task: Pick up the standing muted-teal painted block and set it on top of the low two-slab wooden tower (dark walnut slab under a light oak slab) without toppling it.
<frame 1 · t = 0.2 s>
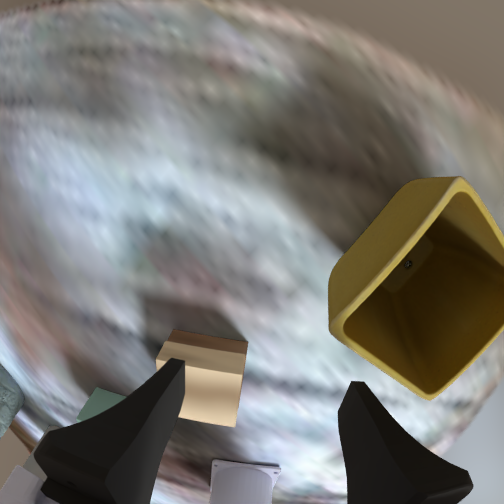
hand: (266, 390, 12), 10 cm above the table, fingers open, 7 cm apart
flower pot: (390, 248, 20), on the table
grey-green embossed container: (5, 381, 30), on the table
cup: (70, 442, 33), on the table
walnut slab: (209, 360, 25), on the table, touching oak slab
teal block: (115, 404, 28), on the table
oak slab: (203, 377, 22), point 2 cm above the table, touching walnut slab
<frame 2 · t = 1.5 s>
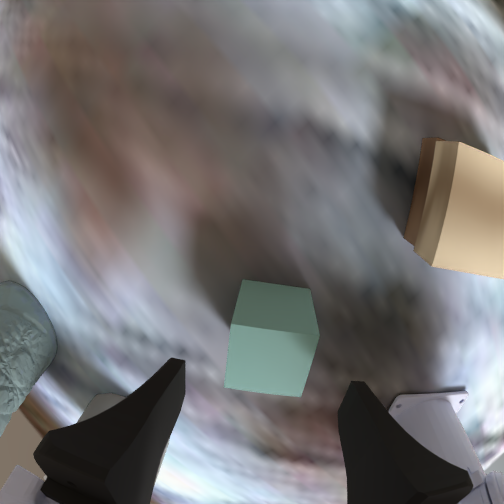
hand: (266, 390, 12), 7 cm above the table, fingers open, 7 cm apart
grey-green embossed container: (25, 321, 21), on the table
cup: (129, 422, 24), on the table
walnut slab: (450, 197, 16), on the table, touching oak slab
teal block: (271, 313, 19), on the table
oak slab: (468, 208, 14), point 2 cm above the table, touching walnut slab
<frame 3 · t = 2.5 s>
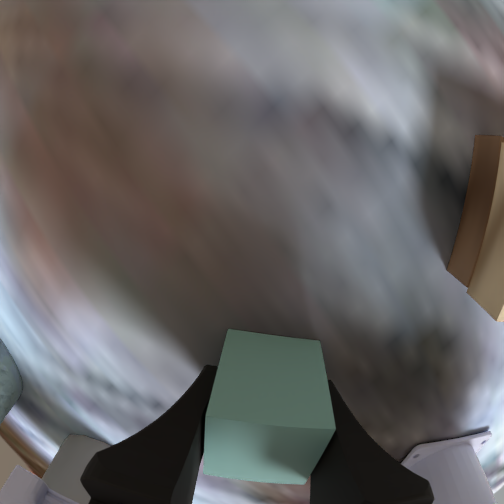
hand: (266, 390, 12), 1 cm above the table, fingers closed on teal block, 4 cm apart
cup: (108, 463, 19), on the table
walnut slab: (501, 215, 11), on the table, touching oak slab
teal block: (267, 369, 13), on the table, touching gripper
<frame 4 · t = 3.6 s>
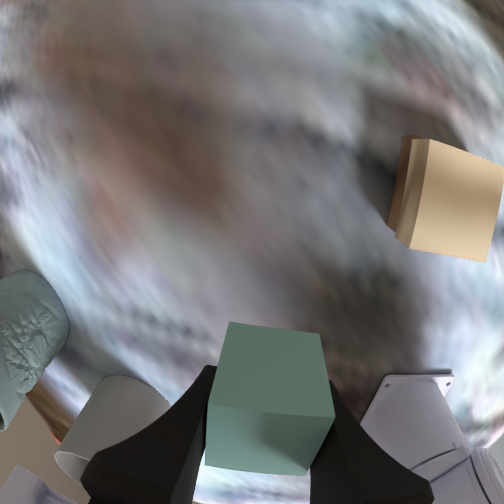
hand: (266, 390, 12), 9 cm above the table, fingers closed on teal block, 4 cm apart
grey-green embossed container: (39, 308, 24), on the table
cup: (135, 404, 26), on the table
walnut slab: (430, 190, 18), on the table, touching oak slab
teal block: (267, 362, 14), point 8 cm above the table, touching gripper
oak slab: (444, 198, 16), point 2 cm above the table, touching walnut slab
when the fingers open (7 cm above the table, at t = 5.2 s): teal block drops 1 cm, resting on oak slab.
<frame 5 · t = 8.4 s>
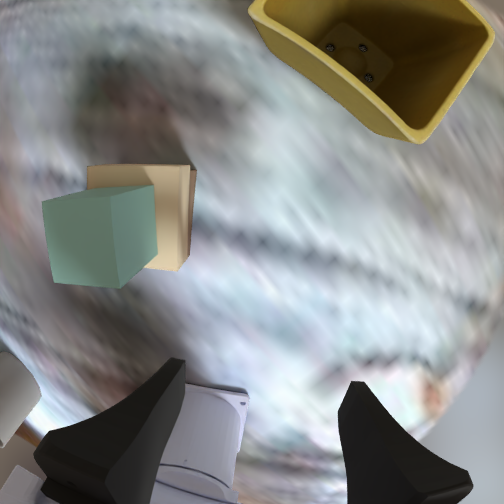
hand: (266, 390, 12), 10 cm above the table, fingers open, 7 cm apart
flower pot: (346, 63, 17), on the table
cup: (19, 376, 29), on the table
walnut slab: (154, 207, 21), on the table, touching oak slab
teal block: (124, 220, 17), point 4 cm above the table, touching oak slab
oak slab: (144, 210, 19), point 2 cm above the table, touching teal block, walnut slab
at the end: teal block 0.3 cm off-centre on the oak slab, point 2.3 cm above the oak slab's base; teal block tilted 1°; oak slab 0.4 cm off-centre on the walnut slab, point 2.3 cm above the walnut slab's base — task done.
